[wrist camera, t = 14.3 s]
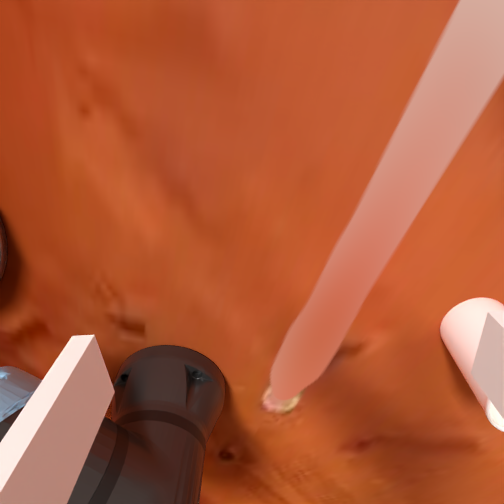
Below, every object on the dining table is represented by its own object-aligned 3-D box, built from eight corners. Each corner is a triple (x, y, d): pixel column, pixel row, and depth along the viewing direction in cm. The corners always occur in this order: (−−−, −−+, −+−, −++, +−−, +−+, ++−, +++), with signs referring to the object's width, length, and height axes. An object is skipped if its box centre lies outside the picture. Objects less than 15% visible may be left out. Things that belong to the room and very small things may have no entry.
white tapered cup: (480, 361, 48) (544, 444, 37) (417, 340, 46) (466, 421, 36) (530, 305, 44) (619, 381, 33) (464, 280, 42) (534, 352, 32)
